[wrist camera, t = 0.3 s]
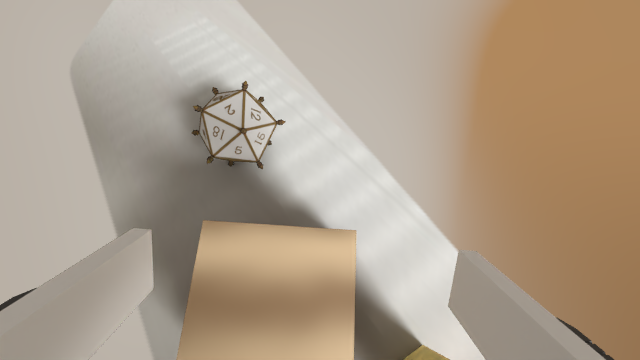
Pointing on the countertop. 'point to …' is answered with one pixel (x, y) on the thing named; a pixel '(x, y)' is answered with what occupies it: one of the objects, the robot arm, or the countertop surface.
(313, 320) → the top block
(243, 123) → the game die
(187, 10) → the countertop surface
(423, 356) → the candy box
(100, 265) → the robot arm
